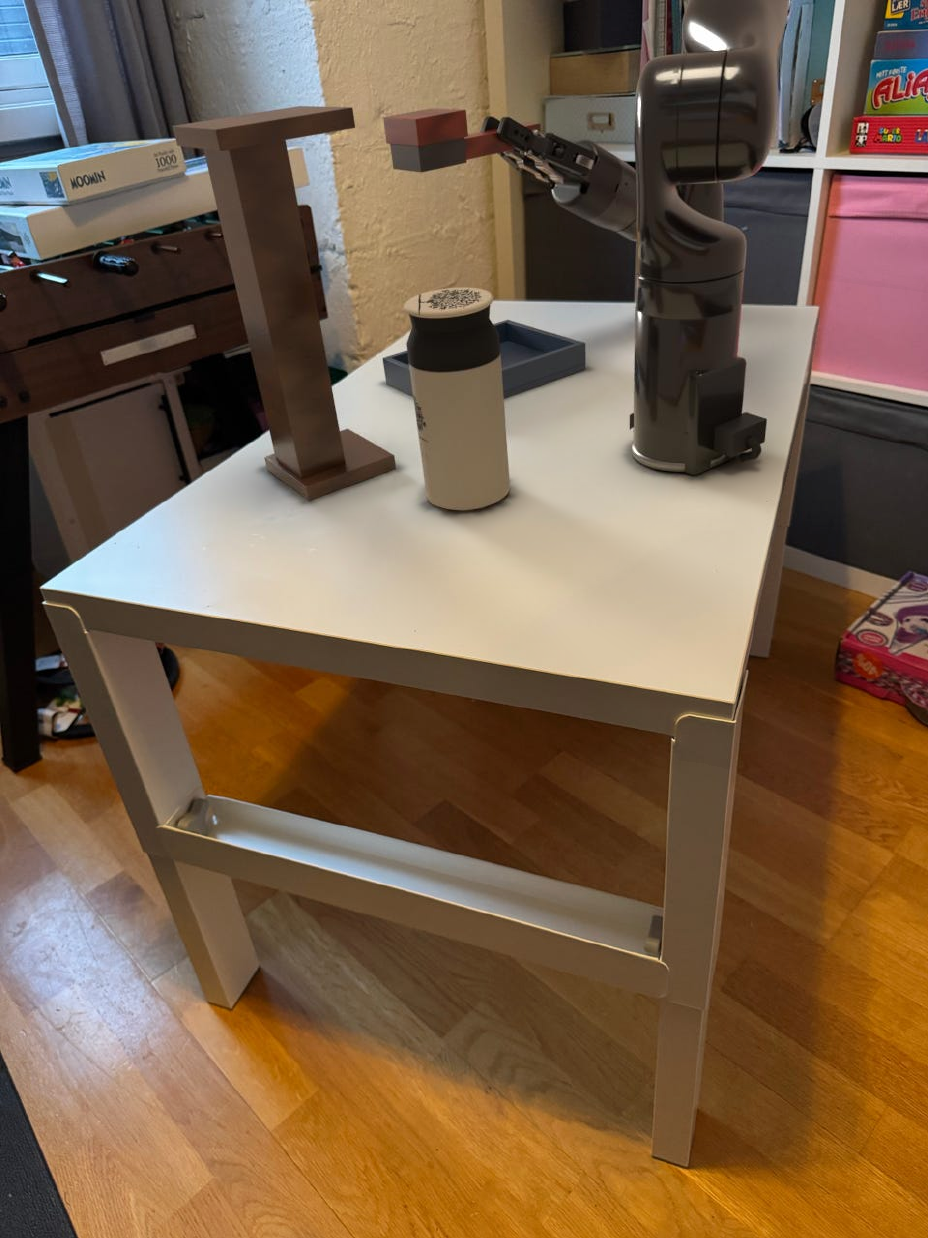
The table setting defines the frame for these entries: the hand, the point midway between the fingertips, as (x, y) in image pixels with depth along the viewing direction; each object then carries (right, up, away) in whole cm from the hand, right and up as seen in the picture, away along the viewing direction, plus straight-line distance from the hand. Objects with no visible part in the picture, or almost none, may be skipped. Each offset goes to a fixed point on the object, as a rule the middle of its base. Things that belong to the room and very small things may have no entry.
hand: (493, 125), depth 94 cm
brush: (-2, -3, 0) cm, 4 cm away
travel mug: (-3, -41, -10) cm, 42 cm away
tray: (0, -22, +16) cm, 27 cm away
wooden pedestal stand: (-17, -37, -3) cm, 41 cm away
